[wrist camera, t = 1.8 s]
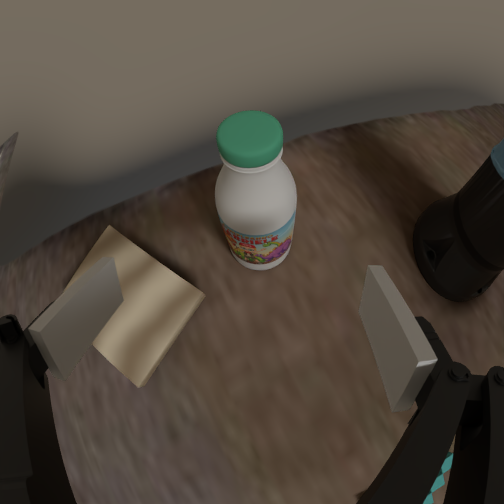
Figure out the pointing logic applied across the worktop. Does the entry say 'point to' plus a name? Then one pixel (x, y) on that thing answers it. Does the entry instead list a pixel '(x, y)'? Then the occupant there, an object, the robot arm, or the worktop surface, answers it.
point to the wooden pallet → (140, 307)
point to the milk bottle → (255, 190)
